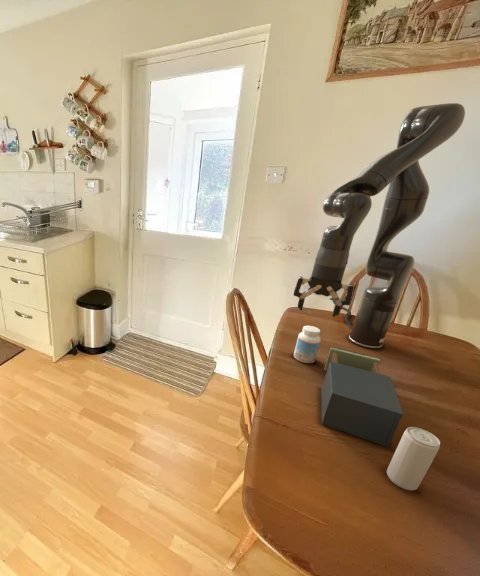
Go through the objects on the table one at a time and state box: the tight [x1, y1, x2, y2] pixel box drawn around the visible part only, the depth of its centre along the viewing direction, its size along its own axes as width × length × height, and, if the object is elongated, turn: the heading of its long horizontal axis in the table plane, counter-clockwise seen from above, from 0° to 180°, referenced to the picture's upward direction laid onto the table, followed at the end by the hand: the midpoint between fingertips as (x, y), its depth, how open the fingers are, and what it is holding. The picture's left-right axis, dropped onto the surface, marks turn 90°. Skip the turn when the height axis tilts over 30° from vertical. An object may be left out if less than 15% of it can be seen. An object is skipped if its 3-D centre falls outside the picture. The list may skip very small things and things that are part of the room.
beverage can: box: [386, 426, 441, 491], centre depth 61 cm, size 5×5×12 cm
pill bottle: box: [293, 325, 322, 364], centre depth 102 cm, size 6×6×11 cm
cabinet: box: [320, 361, 404, 448], centre depth 78 cm, size 16×13×10 cm
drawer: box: [323, 347, 382, 374], centre depth 89 cm, size 20×11×8 cm, turn 146°
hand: (316, 312), depth 97 cm, fingers open, 8 cm apart
